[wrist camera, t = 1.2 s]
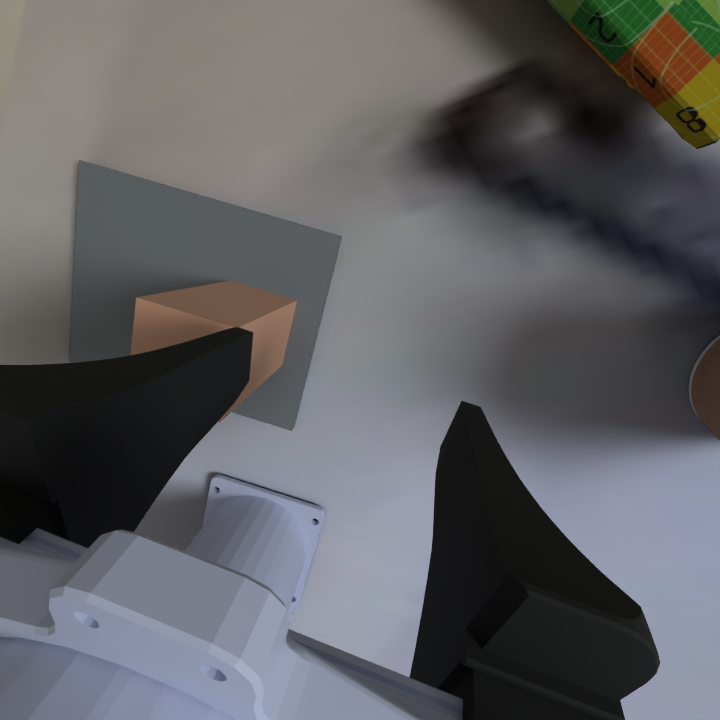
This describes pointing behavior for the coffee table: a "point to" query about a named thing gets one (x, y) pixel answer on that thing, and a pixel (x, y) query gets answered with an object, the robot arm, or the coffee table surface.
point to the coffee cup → (707, 387)
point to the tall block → (217, 323)
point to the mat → (191, 270)
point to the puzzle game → (659, 55)
